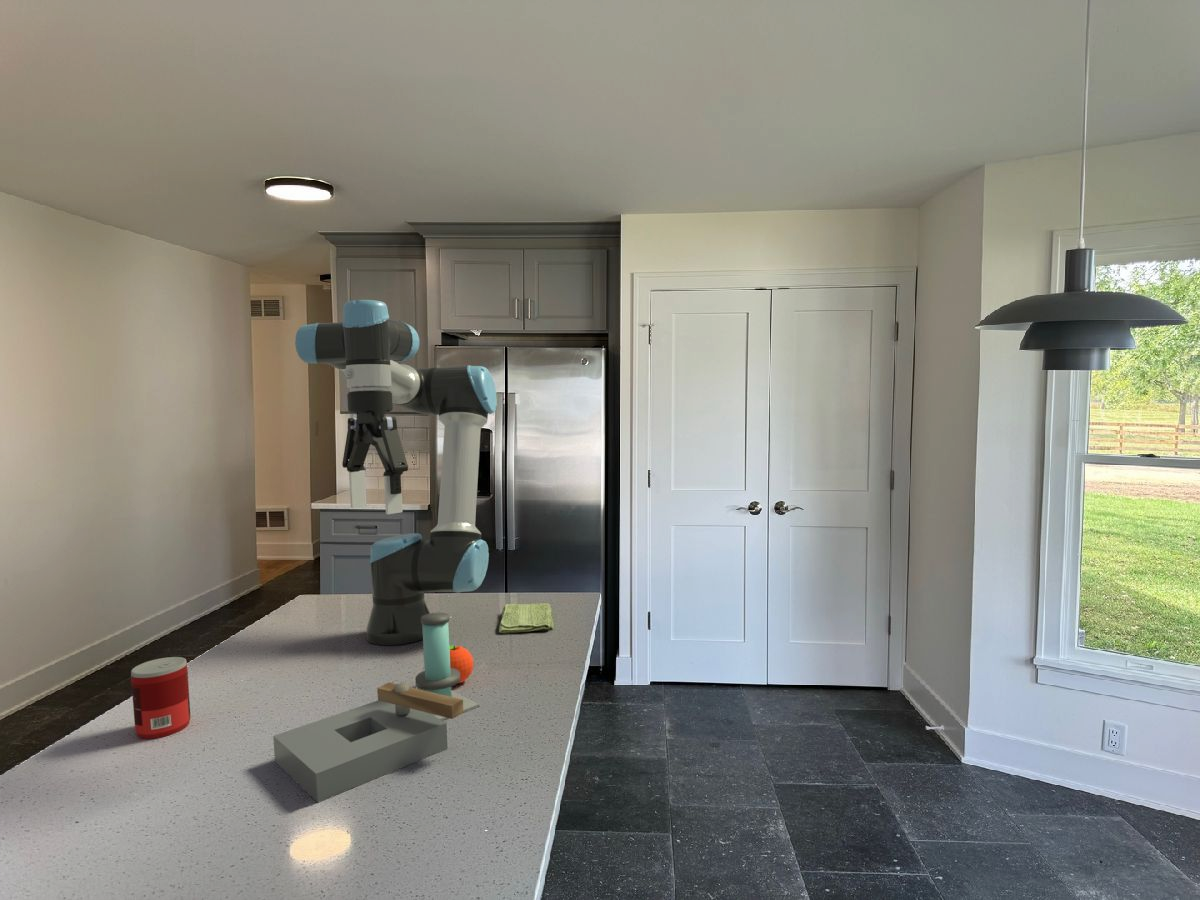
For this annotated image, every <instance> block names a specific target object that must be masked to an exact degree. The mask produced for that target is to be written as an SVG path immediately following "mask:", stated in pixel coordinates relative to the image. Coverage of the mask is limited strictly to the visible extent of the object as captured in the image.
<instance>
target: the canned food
mask: <svg viewBox="0 0 1200 900" xmlns="http://www.w3.org/2000/svg"><path fill="white" fill-rule="evenodd" d="M130 681H131V682H130V684H131V694H132V695H131V697H132V706H133V718H134V731H135V733H136V735H137V737H138V738H140V739H143V740H144V739H145V740H152V739H153V740H154V739H159V738H164V737H168V736H171V735H174V734H176V732H177V733H179V732H180V731H183V730H184V729H185V728H187V727H188V725H190V722H191V718H192V717H191V702H190V689H189V687H190V685H189V671H188V662H187V659H186V658H184V657H181V656H171V657H168V656H167V657H161V658H156V659H152V660H149V661H145V662H143V663H140V664H138V665H136V666H135V667H133V668H132V669H131V671H130Z"/></svg>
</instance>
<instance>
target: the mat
mask: <svg viewBox="0 0 1200 900" xmlns="http://www.w3.org/2000/svg"><path fill="white" fill-rule="evenodd" d="M451 692H452V697H454V698H458V699H463V713H462V714H464V713H467V712H469V711H471V710H473V709H476V708H479V707H480V703H477V702H475V701H474V700H471V699H470V698H469V697H466V696H464V695H463V694H460V693H459V692H456V691H454V690H452V689H451ZM431 715H433V716H435V717H437V718H438V719H440V720H442V721H446V720H447V719H449V718H446V717H442V716H438V715H434V714H431Z"/></svg>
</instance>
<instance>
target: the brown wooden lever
mask: <svg viewBox="0 0 1200 900" xmlns="http://www.w3.org/2000/svg"><path fill="white" fill-rule="evenodd" d="M376 689H377V701H378V700H379V701H383V702H387V703H391V704H395V710H396V715H406V714H408V713H409V712H410V708H411V709H415V710H419V711H422V712H426V713H430V714H434V715H438V716H442V717H446V718H448V719H452V720H453V719H455V718H457V717H458V716H460V715H461V714H464V713H463V699H458V698H454V697H450V696H445V695H441V694H437V693H433V692H428V691H426V690H424V689H420V688H414V687H410V685H409V683H406V682H402V683H394V682H387V683H385V684H382V685H380V686H378V687H377V688H376Z"/></svg>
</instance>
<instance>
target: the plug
mask: <svg viewBox="0 0 1200 900" xmlns="http://www.w3.org/2000/svg"><path fill="white" fill-rule="evenodd" d="M449 621H450V615H449V613H446V612H432V613H431V612H430V614H426V615H424V616H422V617H421V624H422V629H423V639H422V642H423V643H422V645H423V646H422V647H423V663H424V664H423V665H424V666H423V667H424V669H423V671H421V672H419V673H417V675H416V676H415V686H416V688H417V689H420V690H424V691H428V692H433V693H437V694H441V695H445V696H450V697H452V692H451V690H452V687H454V686H455V685H457V684H459V683H458V682H459V681H460V672H459V671H458V670H457V669H454V668H450V649H449V646H450V635H449Z"/></svg>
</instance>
